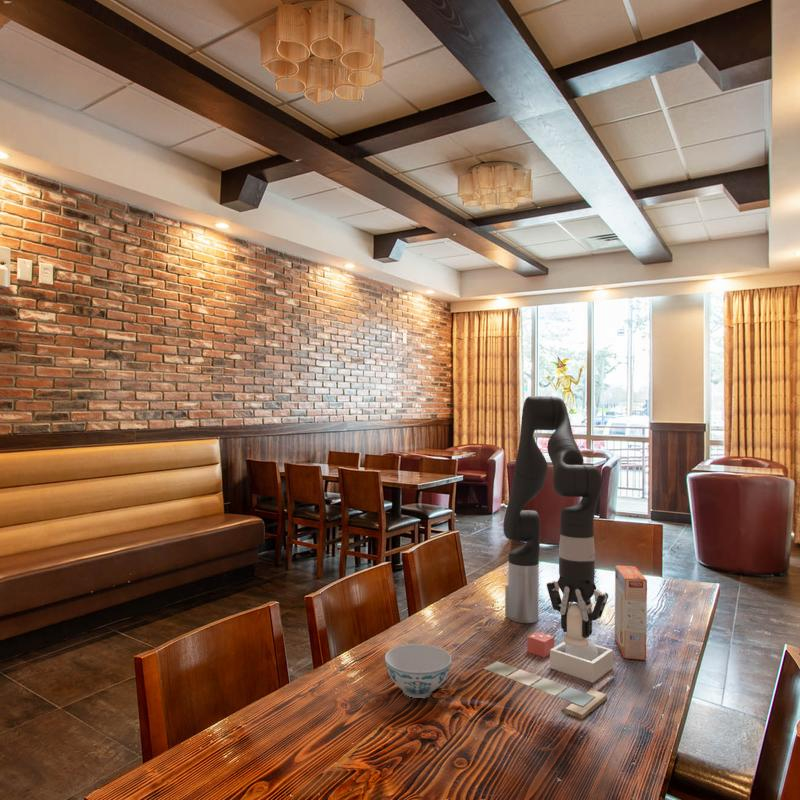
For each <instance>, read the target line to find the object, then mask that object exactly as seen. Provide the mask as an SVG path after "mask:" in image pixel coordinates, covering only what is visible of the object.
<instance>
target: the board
mask: <svg viewBox="0 0 800 800" xmlns="http://www.w3.org/2000/svg"><path fill="white" fill-rule="evenodd" d="M483 670H486V671H488V672H491V673H494V674H496V675H498V676H501V677H504V678H505V677H506V678H507V679H509V680H513V682H514V681H515V682H517V683H520V684H523V685H526V686H527V687H531V688H533V689H535V690H539V691H541V692H543V693H546V694H549V695H552V696H554V697H557V698H559V699H561V700H565V701H567V702H570V703H569V704H567V705H566V706H565V707H563V708H562V709H561V710H560V712H562V711H563V713H564V712H565V713H564V714H566V715H569V714H570V715H569V716H572V717H574V716H575V718H577V717H578V718H577V719H579V718H580V719H579V720H583V719H584V718H586V717H587V716H588V715H589V714H590V712H591V713H592V712H593V711H594V710H595V709H596V708H598V707H599V706H600V705H602V703H604V702H605V701H606V700H607V699H608V698H607V695H608V694H606V693H604V692H601V691H598V690H596V689H592V688H588V689H587V690H586V691H585V692H584V691H581V690H579V689H576V688H573V687H568V685H565V684H561V683H560V682H557V681H554V680H551V679H548V678H546V677H543V678H542V676H540V675H537V674H534V673H531V672H529V671H526V670H523V669H519V668H517V667H515V666H512V665H510V664H508V663H504V662H502V661H498V660H497V661H495V662H493V663H491V664H489V665H488V666H485V667H483ZM566 688H567V689H566ZM586 715H587V716H586ZM585 716H586V717H585Z"/></svg>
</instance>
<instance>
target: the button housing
mask: <svg viewBox="0 0 800 800" xmlns="http://www.w3.org/2000/svg"><path fill="white" fill-rule="evenodd" d="M593 644H594V645H595V647H596V648H597V650H598V654H599V656H598V657H597V658H595V659H594V660H592V661H589V660H586V659H583V658H579V657H576V656H573V655H570V654H567V653H565V648H566V645H567V644H566V643H565V642H564V641H562V642H561V643H559V644H558V645H556V646H554V648H552V649H551V650H550V654H549V668H550V669H553V670H554V671H555V670H556V671H558V672H561V673H564V674H567V675H570V676H573V677H576V678H578V679H580V680H584V681H587V682H591V683H595V682H596V681H597V683H596V684H594V685H593V686H592V688H596V687H597V686H598V685H599V684H600V683H602V681H604V680H606V678H608V677H609V676H611V675H612V674H613V673H614V671H611V670H612V669H614V649H611V648H608V647H604V646H601V645H598V644H595V643H593ZM609 671H611V672H610V673H609V674H607V673H608V672H609ZM605 674H607V675H606V676H604V675H605ZM603 676H604V677H603ZM601 677H603V678H602V679H601V680H600V681H598V680H599V679H600V678H601Z"/></svg>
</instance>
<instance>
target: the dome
mask: <svg viewBox="0 0 800 800" xmlns="http://www.w3.org/2000/svg"><path fill="white" fill-rule="evenodd" d="M594 644H595V643H593V642H592V641H591V640H589V644H588V646H585V647H574V646H570V645H568V644H567V645H566V648H565V653H567V654H570V655H573V656H576V657H579V658H583V659H586V660H589V661H592V660H594V659H595V658H597V657H598V656H599V654H598V650H597V648H596V647H595V645H596V644H595V645H594Z"/></svg>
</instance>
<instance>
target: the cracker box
mask: <svg viewBox="0 0 800 800" xmlns="http://www.w3.org/2000/svg"><path fill="white" fill-rule="evenodd" d="M614 567H615V568H614V569H615V572H614V573H615V574H614V575H615V576H614V577H615V579H614V581H615V582H614V583H615V584H614V585H615V586H614V587H615V588H614V590H615V591H614V640H615V642H616V644H617V647H618V648H619V649H618V650H619V652H621V655H622V657H623V659H627V660H637V661H638V660H639V661H647V619H648V618H647V616H648V615H647V611H648V610H647V607H648V604H647V601H648V580H647V578H645V576H644V575H643V574H642V572H640V570H639V569H638V568H637V567H636V566H634V565H633V566H632V565H615V566H614Z"/></svg>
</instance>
